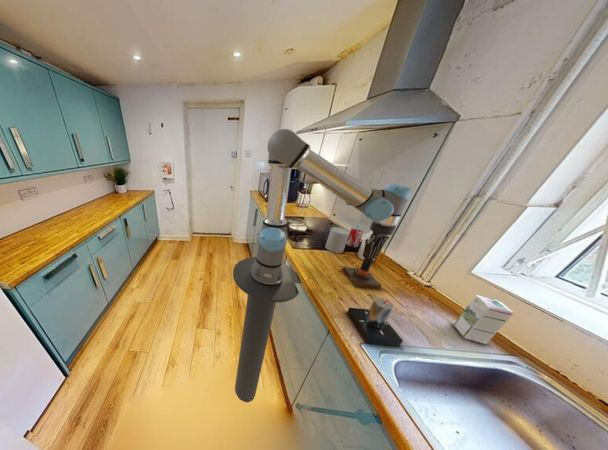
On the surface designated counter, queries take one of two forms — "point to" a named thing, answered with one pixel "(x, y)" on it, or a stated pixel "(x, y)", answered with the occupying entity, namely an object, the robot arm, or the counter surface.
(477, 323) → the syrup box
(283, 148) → the robot arm
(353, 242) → the soda can
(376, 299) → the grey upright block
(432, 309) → the counter surface
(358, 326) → the control panel
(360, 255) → the milk bottle
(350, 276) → the dark square plate
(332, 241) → the grey cylinder
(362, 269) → the dispense button
